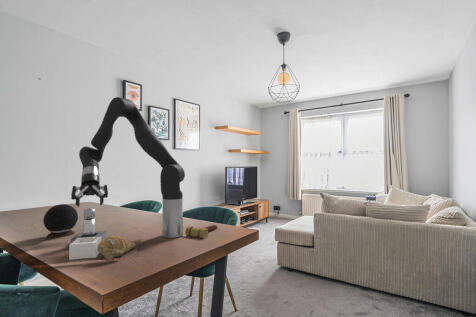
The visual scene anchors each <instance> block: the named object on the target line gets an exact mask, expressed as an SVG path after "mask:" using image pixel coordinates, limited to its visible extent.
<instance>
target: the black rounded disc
mask: <svg viewBox="0 0 476 317" xmlns="http://www.w3.org/2000/svg"><path fill="white" fill-rule="evenodd" d="M78 219H79V214H78V211H77V210H76V208H75V207H73V206H72V205H70V204H64V203H63V204H62V203H61V204H57V205H54V206H51V207H50V208H49V209H48V210H47V211H46V212H45V214H44V216H43V220H42V221H43V225H44V226H43V227H44V228H45V229H46V230H48V232H50V233H48V234H47V235H46V236H45V240H48V239H57V238H65V237H70V236H73V235H75V231H74V230H72V229H73V228H74V227H75V226H76V224H77V222H78Z"/></svg>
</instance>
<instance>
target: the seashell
mask: <svg viewBox="0 0 476 317" xmlns="http://www.w3.org/2000/svg"><path fill="white" fill-rule="evenodd" d="M136 245H137V244H136V243H135V242H134V241H132V240H130V239H128V238H125V237H124V236H118V235H110V236H106V238H105V239H103V240H102V241H101V242H100V243H99V245H98V248H97V249H98V251H99V252H100V253H99V254H101V255H102V256H103V258H104V259H105V260H107V261H110V260H113V259H114V258H115V259H119V258H120V257H122V256H123V255H124V254H126V253H128V252H129V251H131V250H132V249H134V248H135V247H136Z"/></svg>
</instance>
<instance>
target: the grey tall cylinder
mask: <svg viewBox="0 0 476 317" xmlns="http://www.w3.org/2000/svg"><path fill="white" fill-rule="evenodd" d="M95 232H96V208H94V207H93V208H92V207H90V208H84V209H83V233H84V237H91V236H95Z"/></svg>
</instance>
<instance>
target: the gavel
mask: <svg viewBox="0 0 476 317" xmlns="http://www.w3.org/2000/svg"><path fill="white" fill-rule="evenodd" d="M218 227H219V226H218V225H215V224H212V225H209V226H205V227H201V228H199V227H194V226H187V227H186V228H185V236H186V237H194V238H200V239H204V240H206V239H207V238H208V237H209V233H210V232H211V231H215V230H217V229H218Z"/></svg>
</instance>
